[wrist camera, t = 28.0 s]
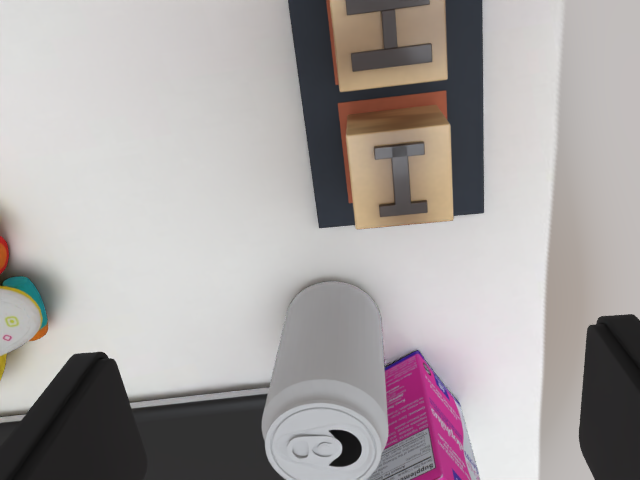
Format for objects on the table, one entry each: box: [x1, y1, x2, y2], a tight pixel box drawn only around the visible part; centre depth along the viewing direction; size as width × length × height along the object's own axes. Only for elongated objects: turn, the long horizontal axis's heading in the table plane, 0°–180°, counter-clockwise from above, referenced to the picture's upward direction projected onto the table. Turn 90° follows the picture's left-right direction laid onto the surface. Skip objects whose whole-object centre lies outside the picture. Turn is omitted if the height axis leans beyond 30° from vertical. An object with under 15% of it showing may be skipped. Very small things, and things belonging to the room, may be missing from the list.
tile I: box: [346, 105, 453, 229], centre depth 30 cm, size 5×5×5 cm
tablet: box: [0, 387, 286, 480], centre depth 43 cm, size 13×27×2 cm, turn 101°
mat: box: [288, 0, 484, 228], centre depth 31 cm, size 16×10×1 cm, turn 7°
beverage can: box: [262, 281, 388, 480], centre depth 32 cm, size 6×6×12 cm
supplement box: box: [366, 350, 480, 480], centre depth 34 cm, size 6×6×12 cm
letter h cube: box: [330, 0, 448, 92], centre depth 27 cm, size 5×5×5 cm
